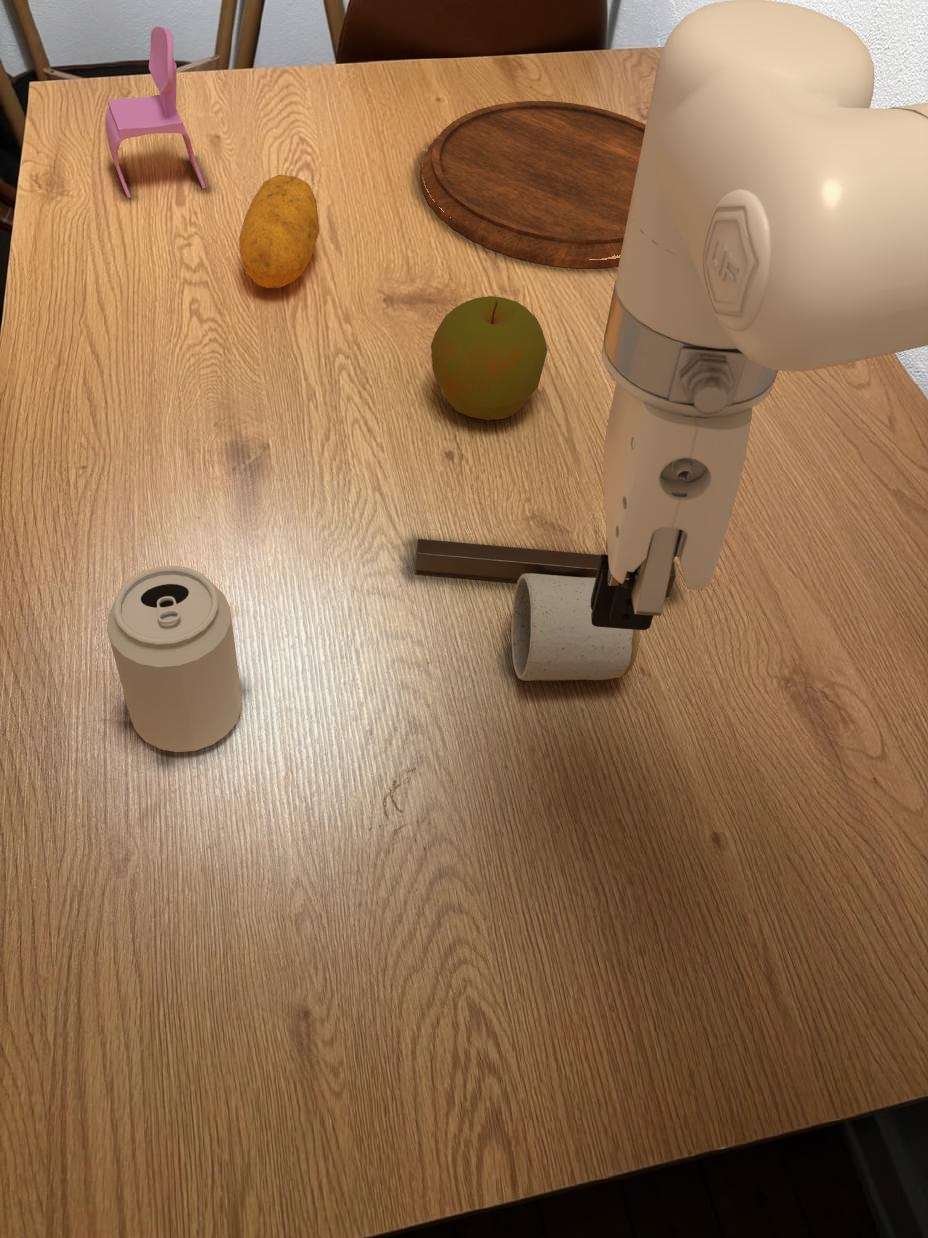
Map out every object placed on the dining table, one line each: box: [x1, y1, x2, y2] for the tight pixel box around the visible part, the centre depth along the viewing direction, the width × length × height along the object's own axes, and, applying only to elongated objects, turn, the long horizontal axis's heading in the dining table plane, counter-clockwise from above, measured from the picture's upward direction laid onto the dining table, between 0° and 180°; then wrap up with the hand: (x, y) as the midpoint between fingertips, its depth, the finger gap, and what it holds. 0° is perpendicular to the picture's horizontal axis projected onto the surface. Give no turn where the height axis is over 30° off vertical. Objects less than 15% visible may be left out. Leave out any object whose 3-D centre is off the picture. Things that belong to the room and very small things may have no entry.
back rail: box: [414, 538, 677, 597], centre depth 87 cm, size 3×20×2 cm, turn 87°
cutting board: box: [419, 100, 646, 269], centre depth 124 cm, size 32×32×3 cm
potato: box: [238, 174, 320, 289], centre depth 108 cm, size 7×14×7 cm, turn 174°
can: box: [106, 565, 243, 753], centre depth 72 cm, size 8×8×12 cm
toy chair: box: [105, 26, 207, 199], centre depth 114 cm, size 8×9×15 cm
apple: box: [430, 295, 548, 421], centre depth 96 cm, size 10×10×11 cm
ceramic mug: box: [510, 573, 641, 682], centre depth 80 cm, size 11×8×8 cm
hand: (619, 617), depth 61 cm, fingers closed
